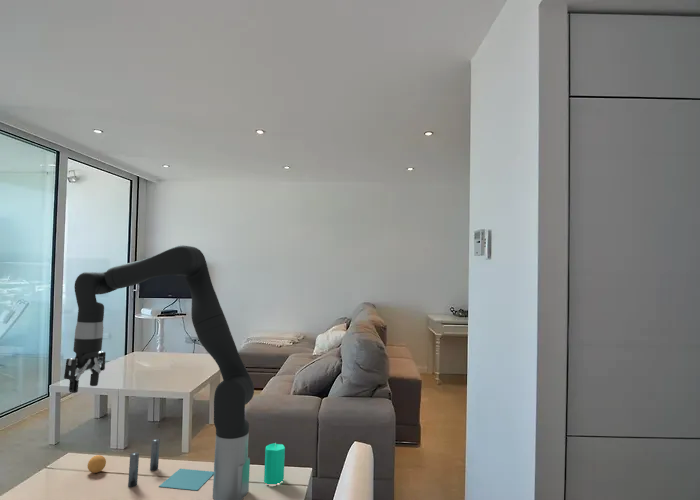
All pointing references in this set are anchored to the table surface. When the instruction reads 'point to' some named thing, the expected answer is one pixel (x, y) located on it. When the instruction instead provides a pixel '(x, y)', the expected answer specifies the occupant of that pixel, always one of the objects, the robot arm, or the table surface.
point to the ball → (96, 464)
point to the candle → (274, 463)
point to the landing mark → (187, 479)
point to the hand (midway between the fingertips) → (83, 389)
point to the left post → (133, 469)
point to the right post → (154, 454)
